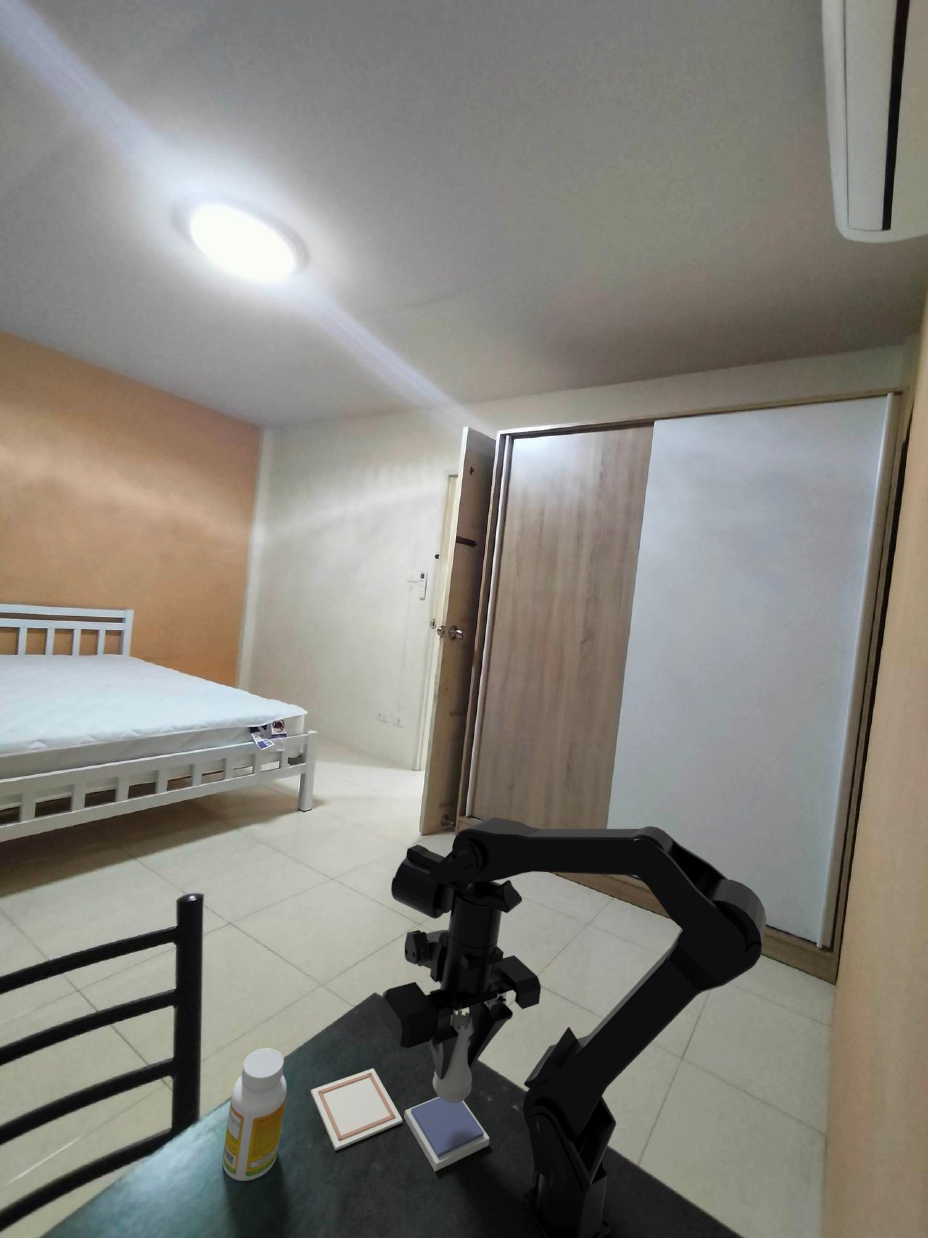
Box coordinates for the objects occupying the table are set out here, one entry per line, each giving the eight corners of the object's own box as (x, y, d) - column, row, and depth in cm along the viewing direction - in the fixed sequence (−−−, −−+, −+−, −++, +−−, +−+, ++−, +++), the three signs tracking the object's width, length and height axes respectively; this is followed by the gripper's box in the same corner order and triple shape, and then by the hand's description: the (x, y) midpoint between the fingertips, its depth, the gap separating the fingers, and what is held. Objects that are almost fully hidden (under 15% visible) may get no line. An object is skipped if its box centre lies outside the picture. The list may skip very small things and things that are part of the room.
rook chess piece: (472, 1077, 66) (481, 1008, 66) (469, 1109, 61) (480, 1036, 61) (434, 1069, 66) (443, 1001, 66) (429, 1101, 61) (439, 1028, 62)
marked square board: (402, 1122, 64) (402, 1119, 64) (335, 1151, 59) (335, 1147, 59) (372, 1070, 70) (373, 1067, 70) (310, 1092, 66) (311, 1089, 66)
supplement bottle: (285, 1137, 60) (298, 1046, 60) (266, 1188, 55) (280, 1088, 55) (235, 1129, 60) (249, 1038, 60) (211, 1178, 55) (226, 1079, 55)
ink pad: (488, 1145, 62) (490, 1134, 62) (434, 1171, 59) (436, 1160, 59) (454, 1096, 68) (456, 1086, 68) (404, 1117, 64) (405, 1107, 64)
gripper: (495, 888, 76) (479, 1004, 75) (368, 911, 65) (349, 1045, 65) (552, 932, 66) (533, 1065, 66) (414, 967, 56) (392, 1124, 56)
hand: (453, 1071), depth 64 cm, fingers closed on rook chess piece, 3 cm apart
